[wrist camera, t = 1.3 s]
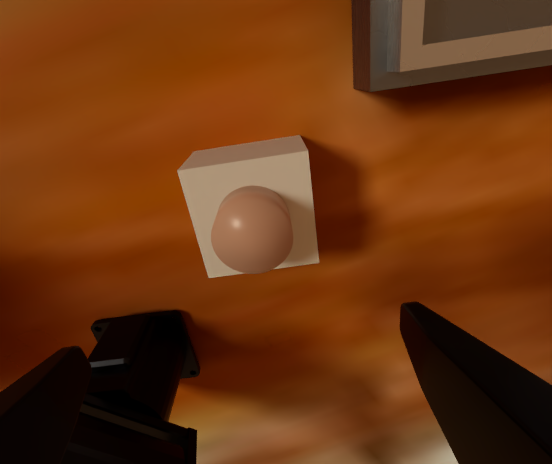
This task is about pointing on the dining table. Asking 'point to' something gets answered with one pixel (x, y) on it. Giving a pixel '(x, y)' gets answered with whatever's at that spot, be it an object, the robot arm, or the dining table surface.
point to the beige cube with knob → (252, 206)
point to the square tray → (446, 40)
